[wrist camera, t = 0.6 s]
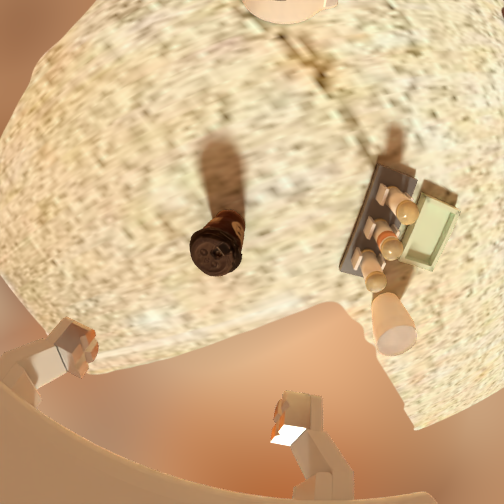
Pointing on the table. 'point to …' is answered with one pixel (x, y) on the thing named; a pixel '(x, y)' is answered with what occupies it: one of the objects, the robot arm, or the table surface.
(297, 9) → the robot arm
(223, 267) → the coffee cup
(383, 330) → the cup
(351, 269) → the fuse block
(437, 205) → the tray
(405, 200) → the fuse
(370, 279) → the fuse
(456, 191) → the table surface
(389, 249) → the fuse marked
